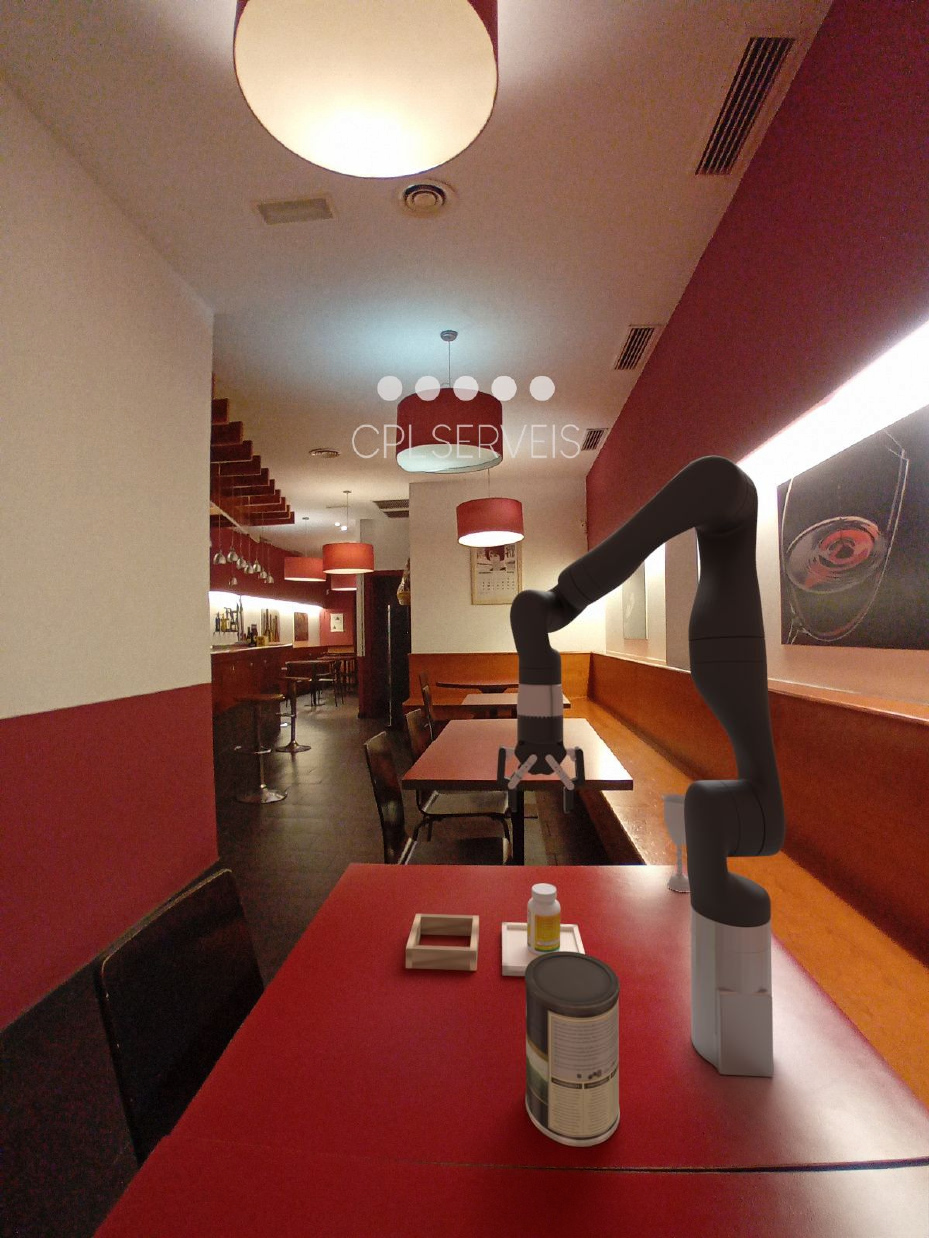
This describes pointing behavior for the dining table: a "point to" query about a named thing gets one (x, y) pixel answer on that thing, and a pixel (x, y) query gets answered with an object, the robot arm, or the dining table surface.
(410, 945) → the oak holder
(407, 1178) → the dining table surface
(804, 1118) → the dining table surface
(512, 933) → the ceramic tray
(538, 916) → the supplement bottle
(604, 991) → the coffee can
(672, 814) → the chalice
